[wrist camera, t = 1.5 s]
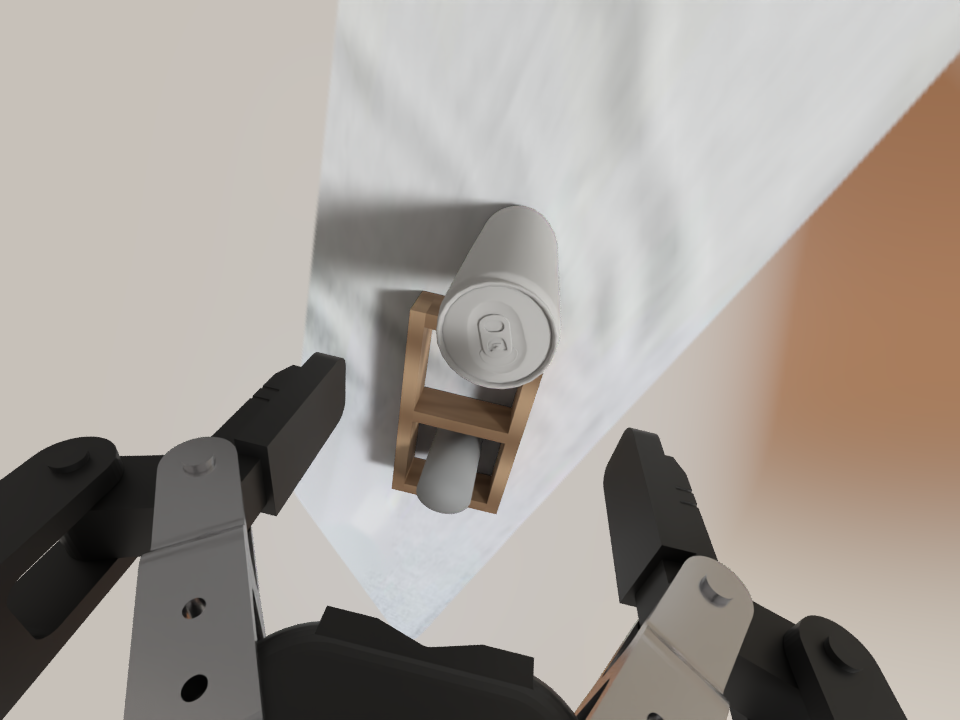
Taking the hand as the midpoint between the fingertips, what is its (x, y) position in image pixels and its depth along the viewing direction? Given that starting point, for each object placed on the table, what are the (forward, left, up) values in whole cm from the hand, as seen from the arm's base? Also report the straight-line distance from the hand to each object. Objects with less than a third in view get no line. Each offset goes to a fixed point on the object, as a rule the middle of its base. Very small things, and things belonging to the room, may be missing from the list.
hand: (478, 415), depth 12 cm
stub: (+17, -1, -16) cm, 24 cm away
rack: (+13, -1, -16) cm, 21 cm away
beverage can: (0, 0, -17) cm, 17 cm away
